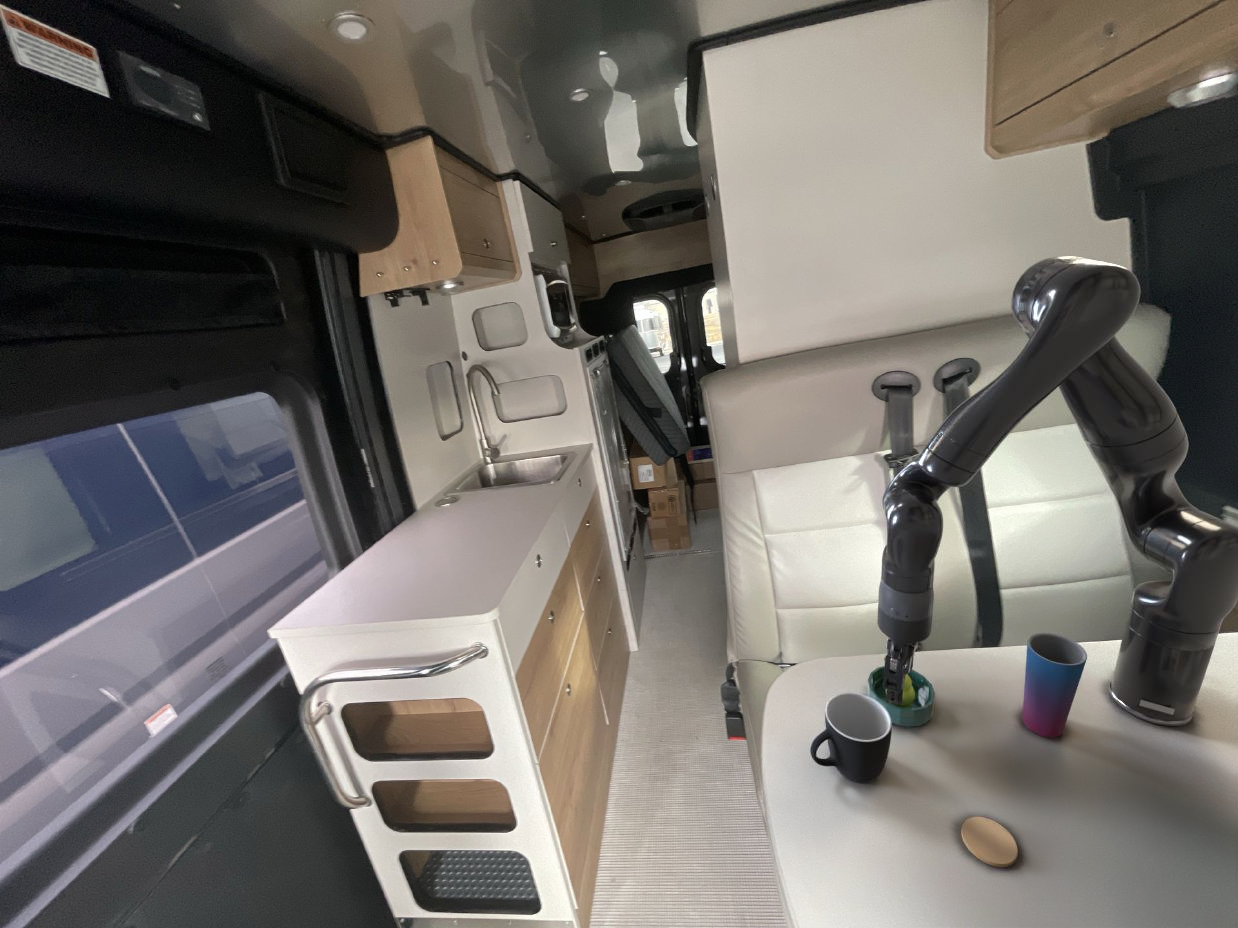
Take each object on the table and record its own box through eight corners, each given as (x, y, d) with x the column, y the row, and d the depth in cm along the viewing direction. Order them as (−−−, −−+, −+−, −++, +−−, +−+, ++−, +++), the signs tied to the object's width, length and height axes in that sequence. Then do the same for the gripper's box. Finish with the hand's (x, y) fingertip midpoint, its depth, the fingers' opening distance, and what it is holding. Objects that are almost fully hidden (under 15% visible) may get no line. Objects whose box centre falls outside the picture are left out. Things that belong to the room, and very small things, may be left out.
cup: (1080, 744, 79) (1098, 665, 74) (1028, 741, 81) (1041, 664, 75) (1055, 707, 85) (1070, 632, 80) (1007, 705, 87) (1018, 632, 81)
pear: (888, 688, 93) (889, 654, 90) (916, 698, 90) (919, 663, 88) (882, 706, 90) (883, 671, 87) (911, 716, 87) (913, 681, 84)
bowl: (875, 675, 97) (876, 658, 95) (937, 695, 91) (939, 677, 89) (861, 713, 90) (861, 695, 88) (927, 737, 84) (928, 719, 82)
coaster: (964, 811, 73) (964, 808, 73) (1018, 834, 69) (1019, 831, 69) (958, 850, 69) (958, 847, 68) (1015, 876, 65) (1016, 873, 65)
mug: (865, 733, 86) (866, 685, 82) (903, 781, 78) (906, 731, 74) (796, 753, 85) (795, 706, 81) (828, 805, 76) (827, 755, 73)
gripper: (924, 639, 75) (917, 723, 81) (940, 585, 85) (932, 664, 91) (867, 623, 80) (864, 705, 86) (889, 574, 90) (885, 650, 96)
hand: (899, 683), depth 88 cm, fingers open, 8 cm apart
